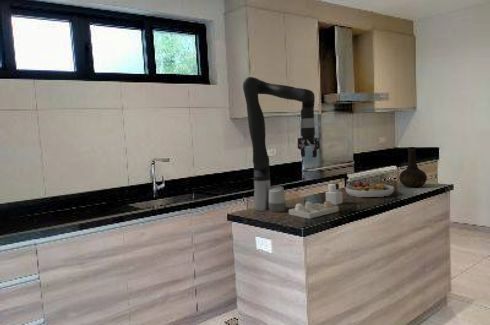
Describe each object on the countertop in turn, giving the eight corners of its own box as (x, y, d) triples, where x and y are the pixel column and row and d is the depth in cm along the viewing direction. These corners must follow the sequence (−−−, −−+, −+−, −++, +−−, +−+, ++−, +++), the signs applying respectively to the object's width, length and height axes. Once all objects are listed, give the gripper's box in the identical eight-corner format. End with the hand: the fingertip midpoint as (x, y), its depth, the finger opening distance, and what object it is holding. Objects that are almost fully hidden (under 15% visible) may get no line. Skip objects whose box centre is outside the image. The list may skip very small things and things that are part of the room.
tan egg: (322, 211, 206) (321, 201, 206) (327, 210, 209) (327, 199, 208) (328, 212, 202) (327, 202, 202) (333, 211, 205) (333, 200, 205)
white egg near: (293, 214, 203) (293, 203, 203) (299, 212, 206) (299, 202, 206) (299, 215, 200) (299, 204, 199) (305, 213, 202) (305, 203, 202)
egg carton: (288, 215, 204) (288, 209, 204) (317, 208, 217) (317, 203, 217) (309, 220, 192) (309, 213, 192) (338, 212, 205) (338, 206, 205)
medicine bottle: (332, 201, 234) (331, 182, 233) (342, 203, 229) (342, 183, 228) (325, 203, 229) (325, 183, 228) (336, 205, 224) (335, 184, 223)
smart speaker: (265, 212, 214) (264, 187, 213) (276, 209, 221) (275, 185, 220) (278, 214, 208) (277, 188, 206) (289, 211, 214) (288, 186, 213)
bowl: (404, 195, 244) (404, 183, 243) (365, 200, 233) (365, 188, 232) (372, 189, 272) (372, 178, 271) (336, 194, 261) (336, 182, 260)
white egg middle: (303, 211, 208) (302, 201, 207) (308, 210, 210) (308, 200, 210) (309, 212, 204) (308, 202, 204) (314, 211, 207) (314, 201, 206)
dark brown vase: (430, 185, 273) (429, 146, 271) (422, 189, 260) (421, 147, 257) (404, 184, 285) (403, 146, 282) (395, 187, 272) (394, 148, 269)
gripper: (322, 126, 204) (323, 156, 205) (303, 127, 215) (304, 156, 217) (312, 126, 199) (313, 158, 201) (293, 127, 211) (294, 157, 212)
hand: (308, 157), depth 209 cm, fingers open, 8 cm apart
